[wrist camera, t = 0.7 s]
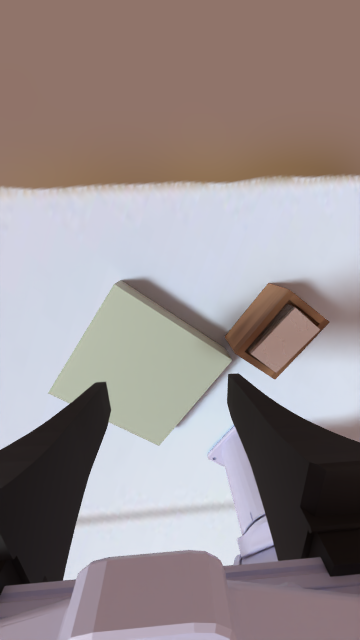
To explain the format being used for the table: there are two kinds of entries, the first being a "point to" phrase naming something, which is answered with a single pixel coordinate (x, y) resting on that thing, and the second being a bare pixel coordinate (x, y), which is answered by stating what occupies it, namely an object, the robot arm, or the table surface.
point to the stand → (142, 364)
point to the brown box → (261, 316)
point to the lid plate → (282, 338)
